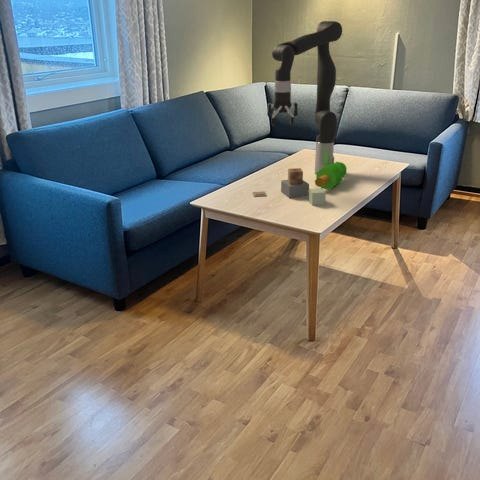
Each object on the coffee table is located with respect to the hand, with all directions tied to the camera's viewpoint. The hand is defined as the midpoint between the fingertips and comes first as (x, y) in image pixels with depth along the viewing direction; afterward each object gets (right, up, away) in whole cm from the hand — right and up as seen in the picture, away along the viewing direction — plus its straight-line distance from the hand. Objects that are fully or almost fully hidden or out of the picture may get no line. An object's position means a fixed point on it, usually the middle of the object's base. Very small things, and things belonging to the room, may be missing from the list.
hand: (282, 125), depth 253 cm
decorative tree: (+27, -27, +12) cm, 40 cm away
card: (-11, -33, 0) cm, 35 cm away
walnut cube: (+6, -28, -3) cm, 28 cm away
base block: (+6, -33, 0) cm, 34 cm away
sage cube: (+15, -38, -12) cm, 43 cm away
